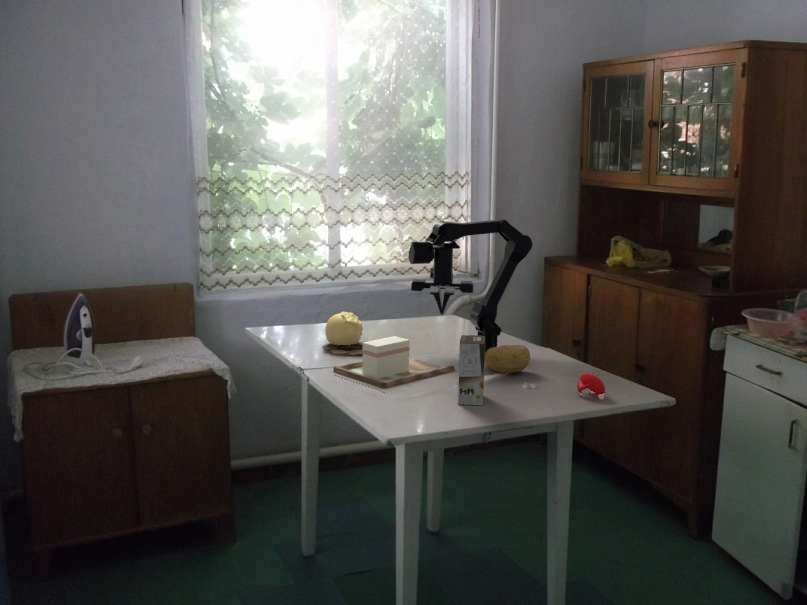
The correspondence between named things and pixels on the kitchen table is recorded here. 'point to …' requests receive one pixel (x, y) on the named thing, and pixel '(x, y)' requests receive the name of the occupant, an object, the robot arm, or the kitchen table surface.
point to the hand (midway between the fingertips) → (441, 313)
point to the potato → (507, 358)
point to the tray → (413, 374)
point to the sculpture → (343, 329)
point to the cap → (590, 384)
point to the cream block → (385, 357)
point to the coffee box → (471, 369)
